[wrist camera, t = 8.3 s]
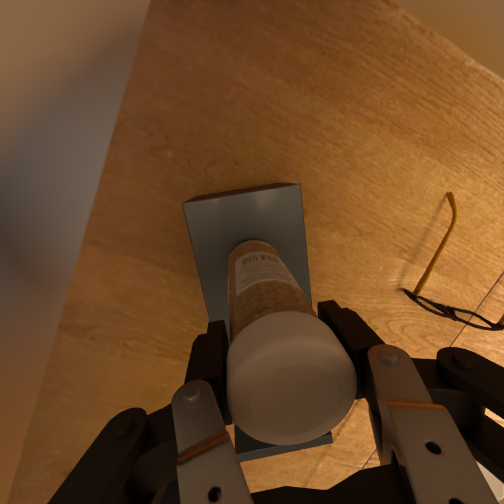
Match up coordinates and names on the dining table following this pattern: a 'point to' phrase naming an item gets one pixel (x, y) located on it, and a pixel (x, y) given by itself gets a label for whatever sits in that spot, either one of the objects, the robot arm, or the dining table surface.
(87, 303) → the dining table surface
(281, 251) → the shelf
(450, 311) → the eyeglasses
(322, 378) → the sprinkles bottle
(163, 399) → the dining table surface
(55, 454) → the dining table surface
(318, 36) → the dining table surface
